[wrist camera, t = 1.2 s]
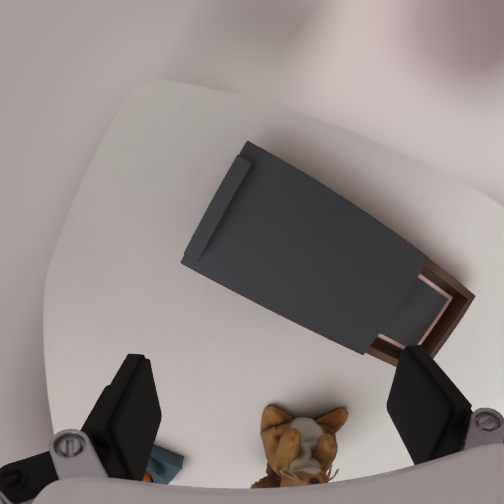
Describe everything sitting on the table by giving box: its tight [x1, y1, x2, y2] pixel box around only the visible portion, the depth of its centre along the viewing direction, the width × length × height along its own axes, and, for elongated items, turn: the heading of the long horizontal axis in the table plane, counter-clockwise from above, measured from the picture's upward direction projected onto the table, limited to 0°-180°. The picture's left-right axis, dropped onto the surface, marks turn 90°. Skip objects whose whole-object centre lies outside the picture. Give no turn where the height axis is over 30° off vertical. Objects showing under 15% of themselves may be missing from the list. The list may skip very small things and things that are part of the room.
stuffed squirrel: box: [250, 405, 348, 489], centre depth 28 cm, size 10×14×13 cm
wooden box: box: [365, 259, 475, 367], centre depth 28 cm, size 18×11×3 cm, turn 60°
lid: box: [181, 141, 429, 355], centre depth 24 cm, size 18×11×2 cm, turn 60°
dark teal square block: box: [146, 445, 184, 485], centre depth 34 cm, size 10×8×4 cm
